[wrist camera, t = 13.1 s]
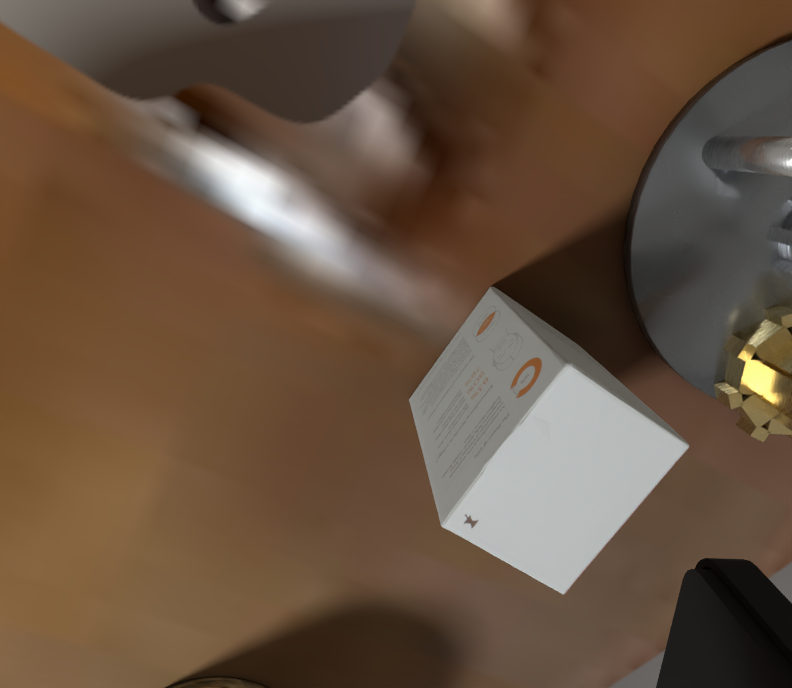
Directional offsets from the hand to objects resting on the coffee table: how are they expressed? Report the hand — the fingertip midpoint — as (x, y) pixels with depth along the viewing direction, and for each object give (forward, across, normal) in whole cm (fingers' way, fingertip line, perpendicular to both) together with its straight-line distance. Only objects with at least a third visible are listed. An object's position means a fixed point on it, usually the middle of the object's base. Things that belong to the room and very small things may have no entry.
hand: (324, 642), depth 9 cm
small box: (+28, -9, +6) cm, 30 cm away
